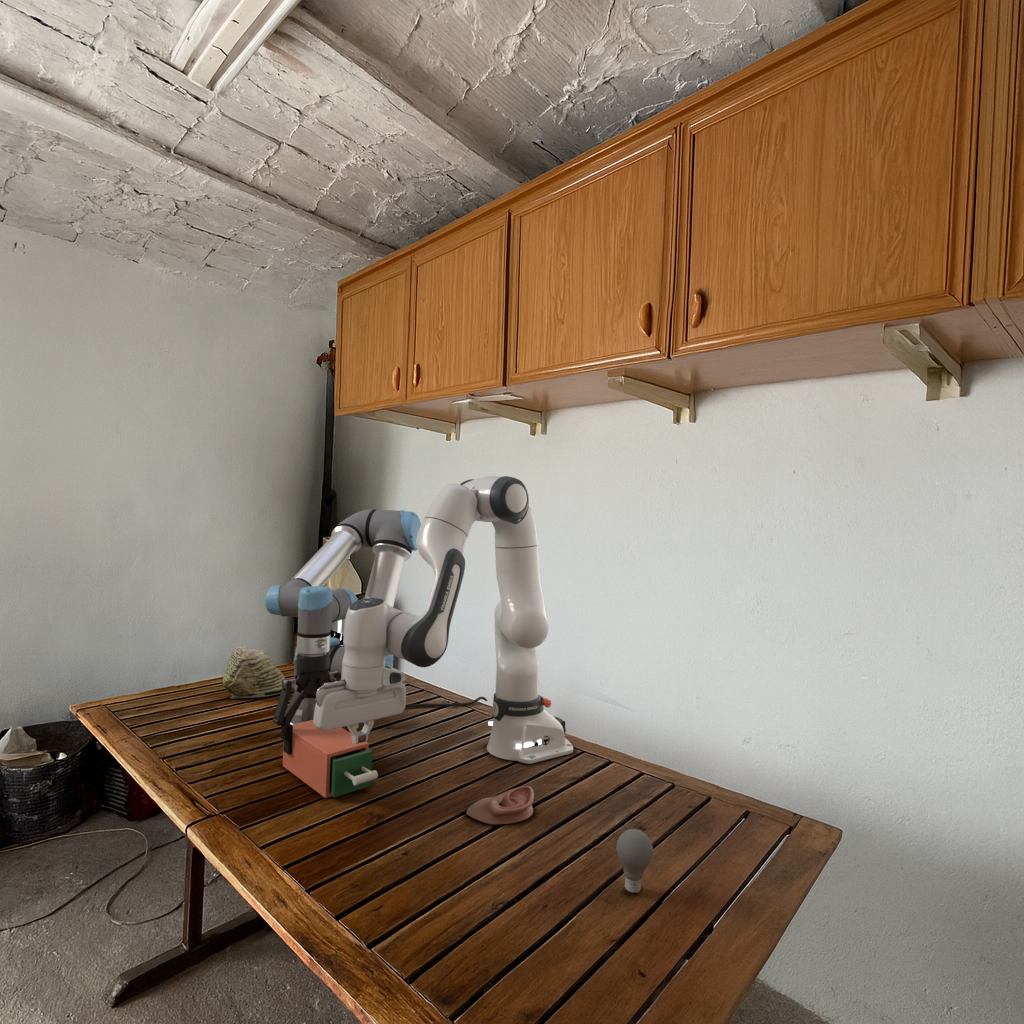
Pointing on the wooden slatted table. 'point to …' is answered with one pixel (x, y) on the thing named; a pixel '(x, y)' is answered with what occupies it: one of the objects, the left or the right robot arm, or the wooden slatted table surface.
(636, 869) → the light bulb
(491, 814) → the anatomical model
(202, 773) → the wooden slatted table surface
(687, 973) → the wooden slatted table surface
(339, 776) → the drawer
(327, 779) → the cabinet
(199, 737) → the wooden slatted table surface
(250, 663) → the fossil
